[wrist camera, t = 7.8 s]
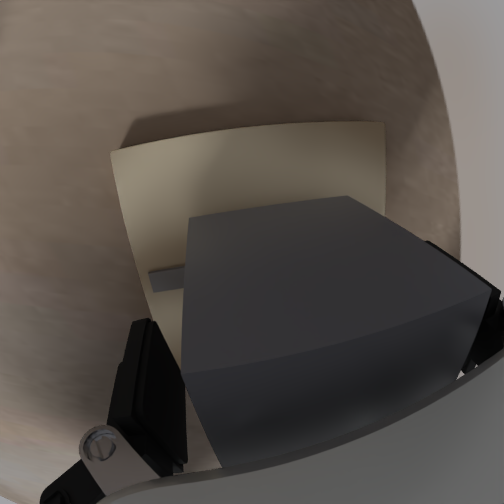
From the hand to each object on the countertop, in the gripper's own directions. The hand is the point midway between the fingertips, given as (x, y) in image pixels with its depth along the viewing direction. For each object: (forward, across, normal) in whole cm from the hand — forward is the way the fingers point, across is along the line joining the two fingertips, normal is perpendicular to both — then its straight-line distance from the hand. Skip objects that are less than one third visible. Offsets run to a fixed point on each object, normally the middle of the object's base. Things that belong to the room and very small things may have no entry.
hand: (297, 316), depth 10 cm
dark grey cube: (+3, 0, 0) cm, 3 cm away
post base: (+6, 0, 0) cm, 6 cm away
